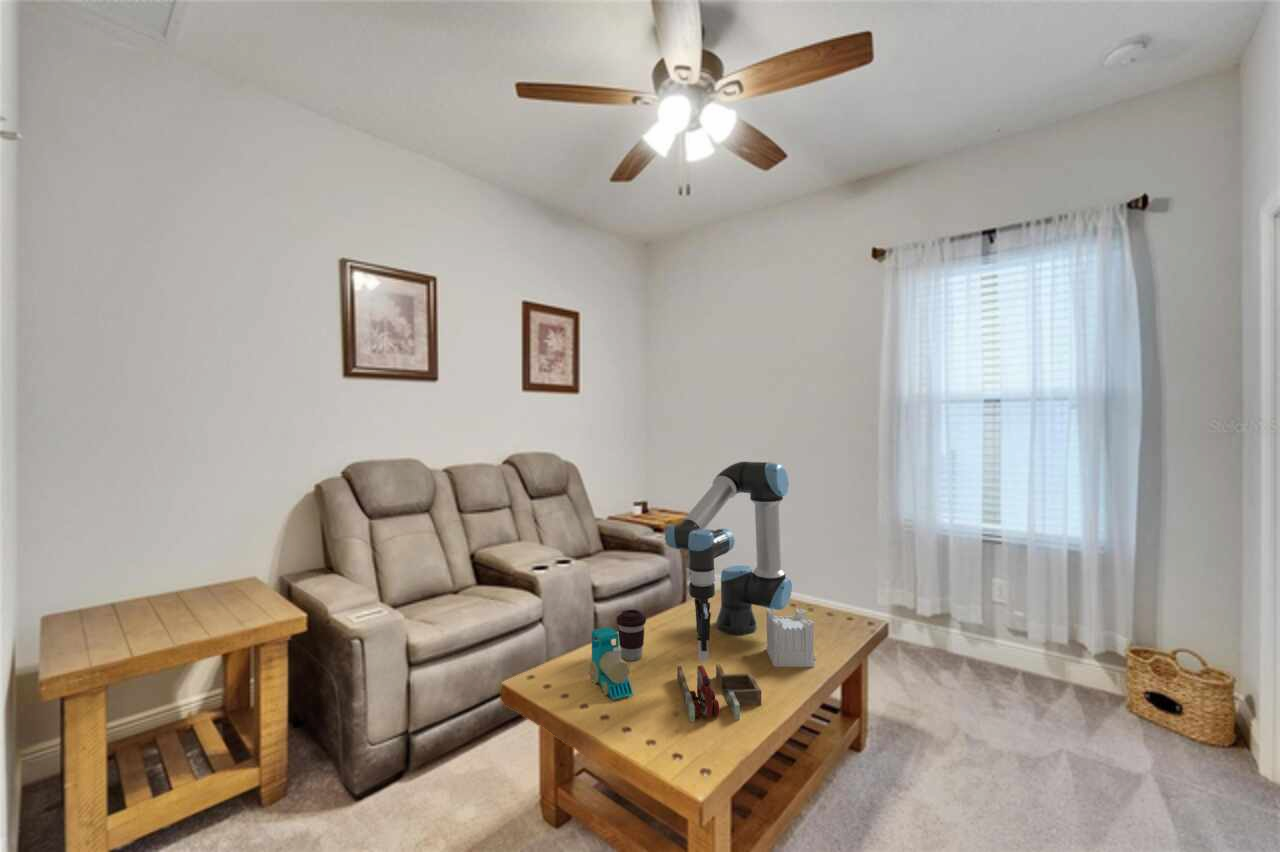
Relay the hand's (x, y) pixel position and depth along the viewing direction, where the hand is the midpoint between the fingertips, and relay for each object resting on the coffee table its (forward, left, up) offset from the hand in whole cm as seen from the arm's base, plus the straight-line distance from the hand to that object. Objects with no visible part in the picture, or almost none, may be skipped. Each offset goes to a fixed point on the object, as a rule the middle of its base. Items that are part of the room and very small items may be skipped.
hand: (703, 659), depth 163 cm
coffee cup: (-22, -20, -8) cm, 32 cm away
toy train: (-2, -28, -9) cm, 29 cm away
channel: (+7, 0, -8) cm, 11 cm away
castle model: (-16, +34, -9) cm, 38 cm away
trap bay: (+7, +10, -8) cm, 14 cm away
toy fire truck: (+13, -2, -9) cm, 16 cm away
